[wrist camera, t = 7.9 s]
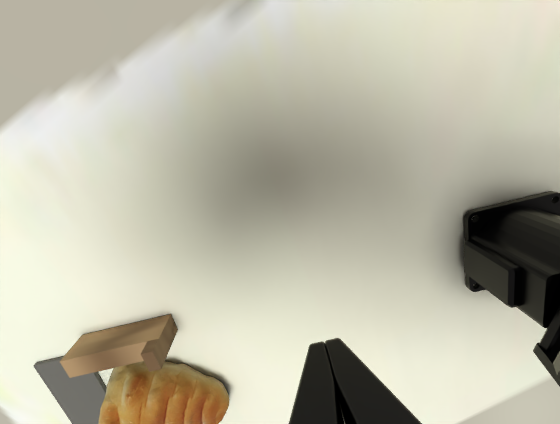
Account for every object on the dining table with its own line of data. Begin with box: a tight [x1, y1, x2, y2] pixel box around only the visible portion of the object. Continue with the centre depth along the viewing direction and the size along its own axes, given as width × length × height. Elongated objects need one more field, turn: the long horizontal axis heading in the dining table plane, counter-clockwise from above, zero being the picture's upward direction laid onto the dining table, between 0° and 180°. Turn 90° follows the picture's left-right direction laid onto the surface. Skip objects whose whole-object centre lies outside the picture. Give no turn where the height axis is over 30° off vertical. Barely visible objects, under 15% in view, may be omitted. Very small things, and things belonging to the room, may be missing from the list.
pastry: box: [99, 361, 229, 424], centre depth 22 cm, size 9×7×4 cm
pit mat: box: [34, 356, 106, 424], centre depth 24 cm, size 4×14×1 cm, turn 13°
